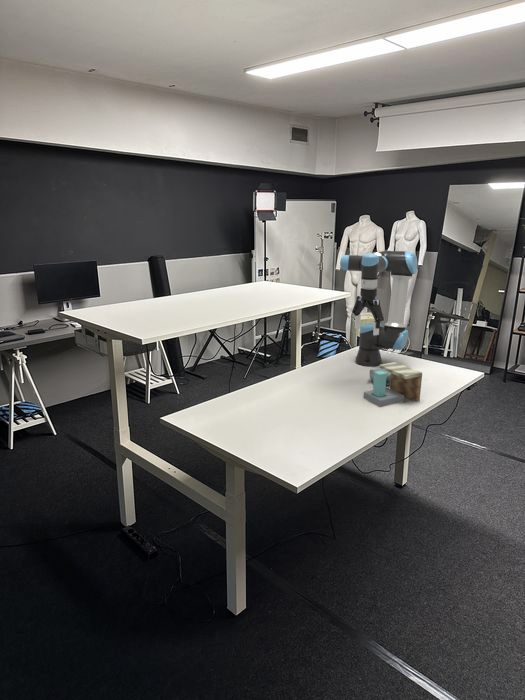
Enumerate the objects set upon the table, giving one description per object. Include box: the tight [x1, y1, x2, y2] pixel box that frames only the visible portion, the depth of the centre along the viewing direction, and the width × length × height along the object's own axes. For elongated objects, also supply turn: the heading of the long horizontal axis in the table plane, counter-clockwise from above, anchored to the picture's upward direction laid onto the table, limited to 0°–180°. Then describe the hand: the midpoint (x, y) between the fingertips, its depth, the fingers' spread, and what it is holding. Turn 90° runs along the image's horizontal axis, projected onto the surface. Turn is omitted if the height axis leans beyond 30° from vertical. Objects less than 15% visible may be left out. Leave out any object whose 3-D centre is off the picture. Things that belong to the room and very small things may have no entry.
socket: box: [363, 386, 405, 408], centre depth 222 cm, size 12×14×3 cm
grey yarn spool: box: [368, 366, 391, 386], centre depth 243 cm, size 14×10×10 cm
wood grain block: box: [378, 361, 423, 402], centre depth 225 cm, size 18×10×14 cm, turn 27°
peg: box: [372, 371, 387, 398], centre depth 219 cm, size 4×4×14 cm
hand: (366, 331), depth 227 cm, fingers open, 13 cm apart
